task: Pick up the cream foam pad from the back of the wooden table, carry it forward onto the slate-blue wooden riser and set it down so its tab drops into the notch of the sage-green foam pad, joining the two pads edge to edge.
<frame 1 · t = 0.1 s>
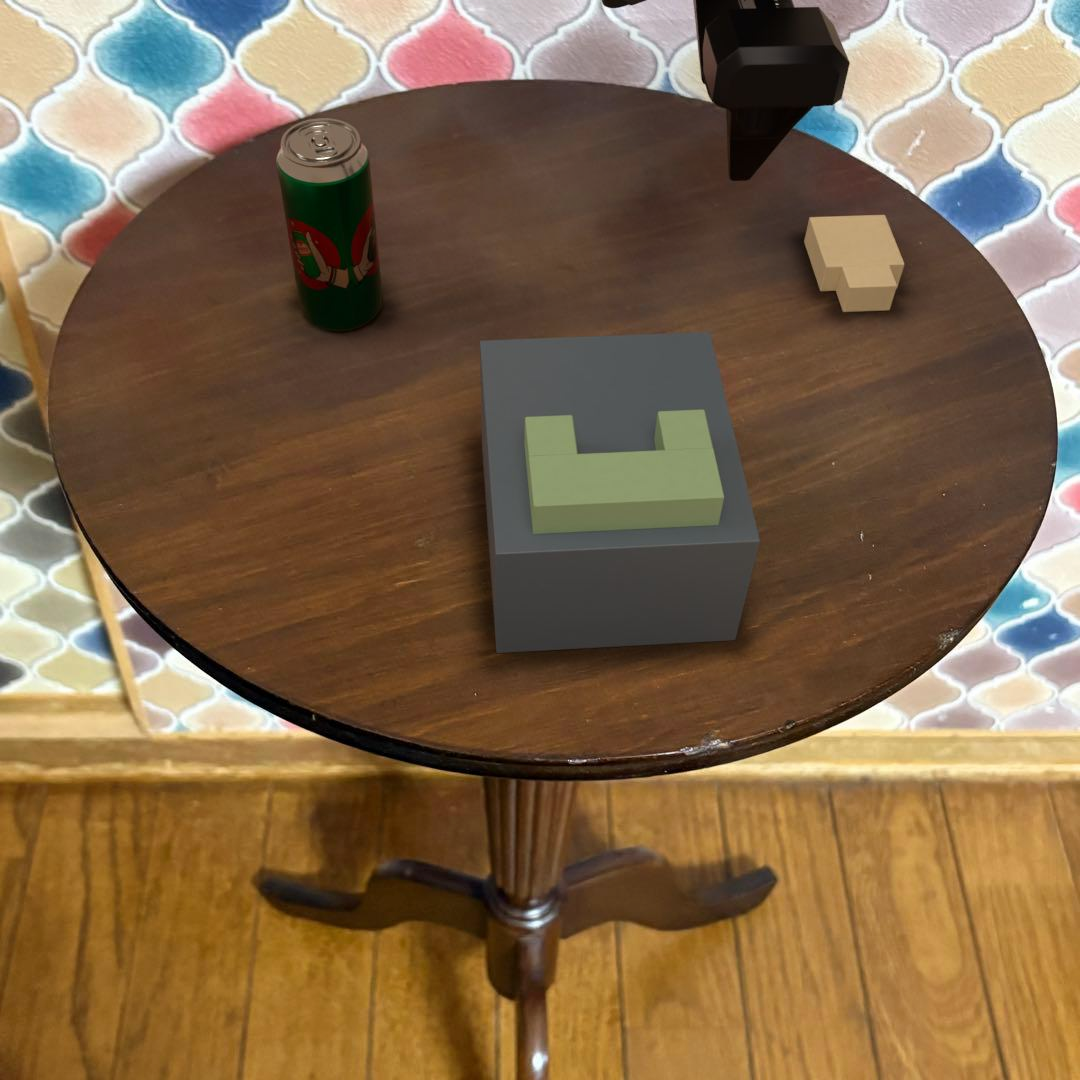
hand: (724, 129, 71), 12 cm above the table, tool pointing down, fingers open, 9 cm apart
green pad: (618, 480, 60), resting on riser
riser: (601, 537, 68), on the table
cream pad: (849, 265, 83), on the table
soda can: (342, 311, 79), on the table
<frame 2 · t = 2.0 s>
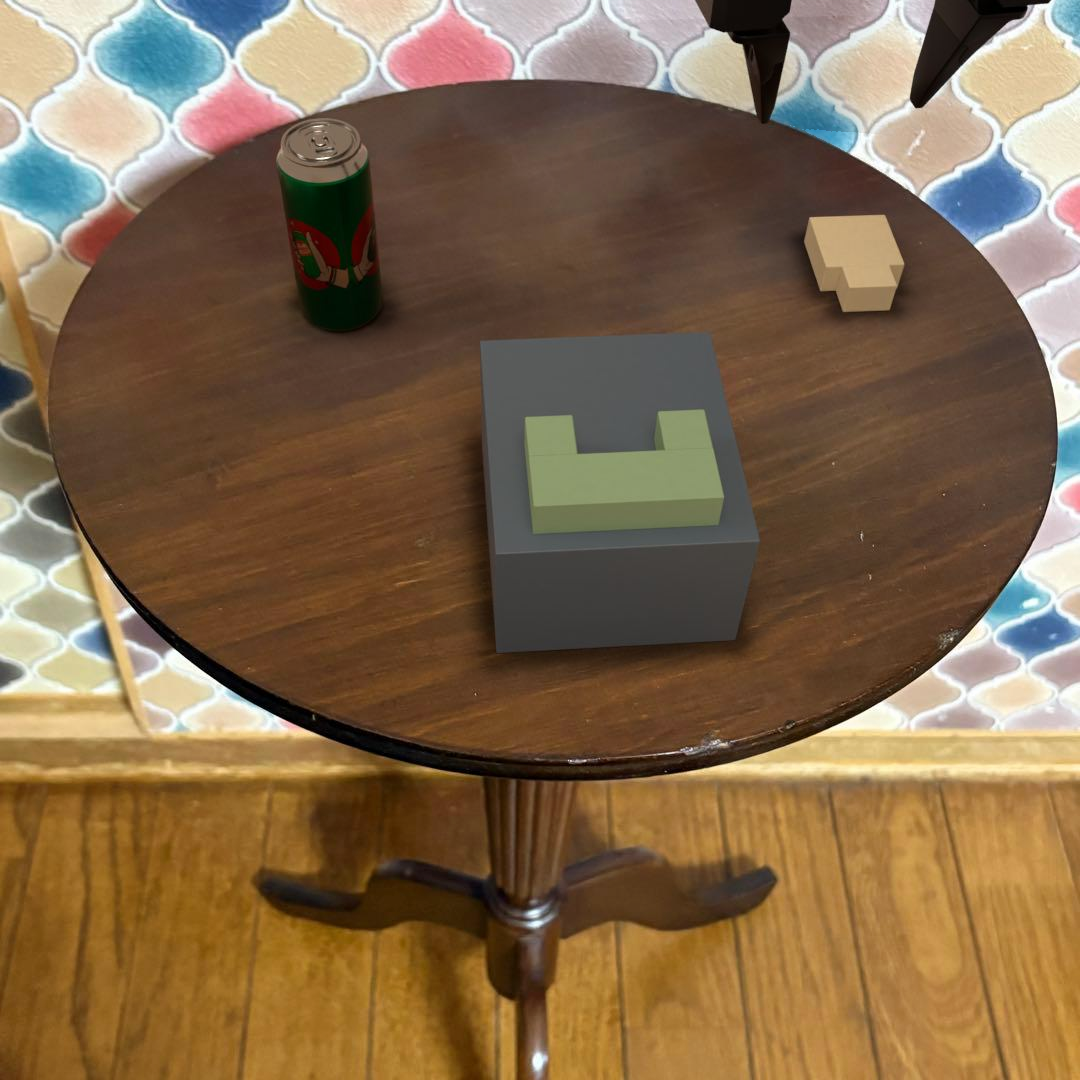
hand: (839, 112, 73), 12 cm above the table, tool pointing down, fingers open, 9 cm apart
nothing on the table moved.
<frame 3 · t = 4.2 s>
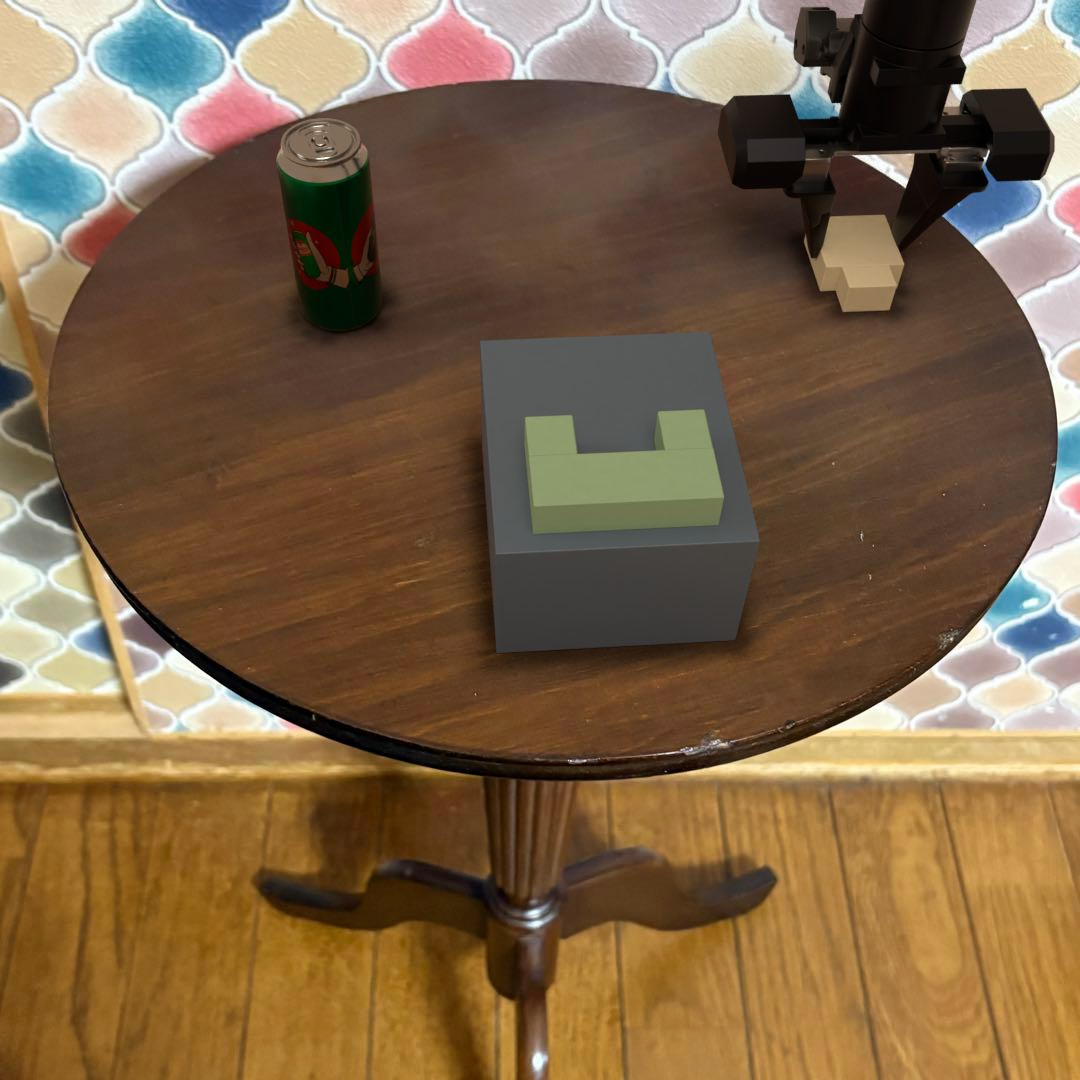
hand: (853, 252, 82), 1 cm above the table, tool pointing down, fingers closed on cream pad, 5 cm apart
cream pad: (849, 265, 83), on the table, touching gripper
everything else where it was.
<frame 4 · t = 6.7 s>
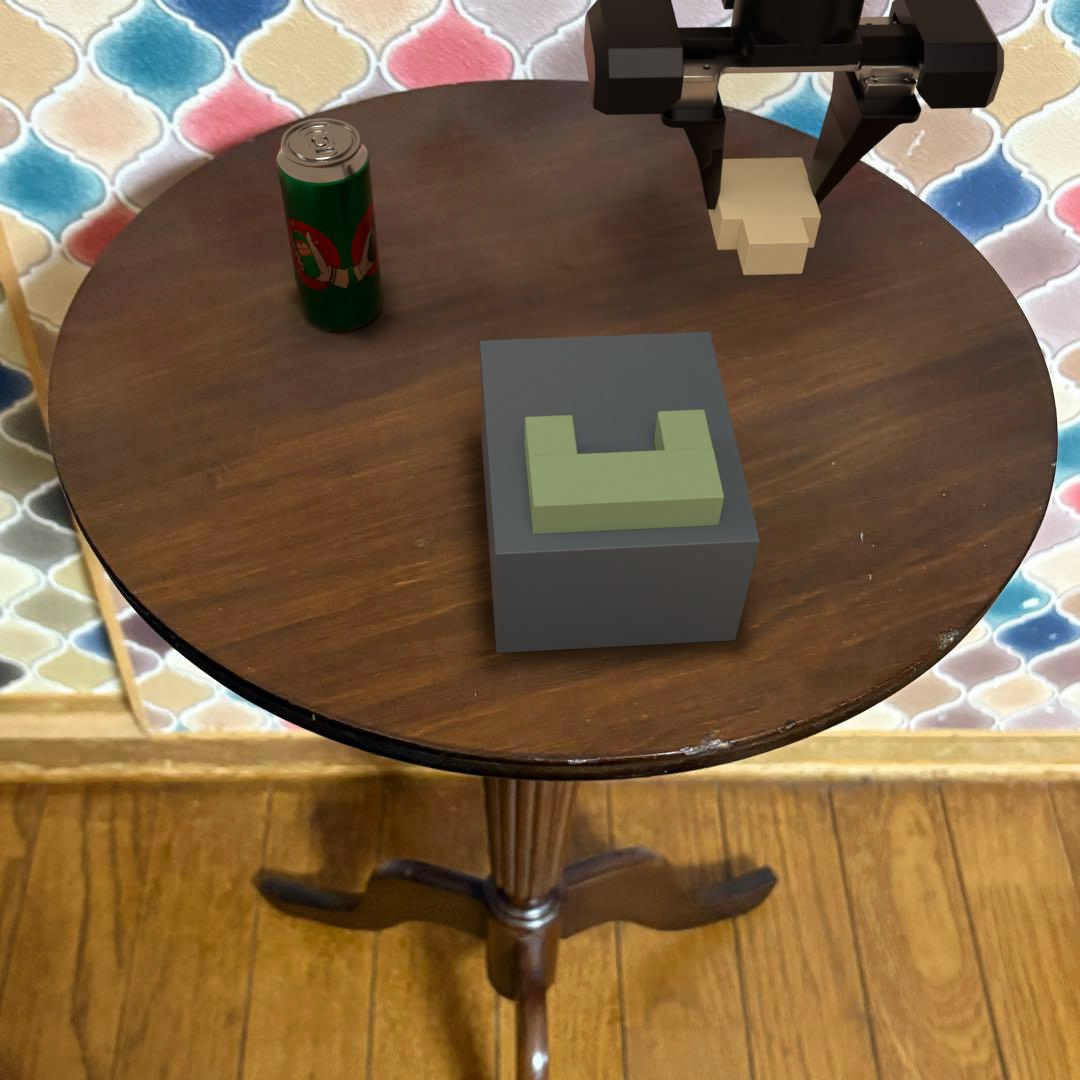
hand: (760, 203, 66), 12 cm above the table, tool pointing down, fingers closed on cream pad, 5 cm apart
cream pad: (757, 218, 67), point 11 cm above the table, touching gripper
everything else where it was.
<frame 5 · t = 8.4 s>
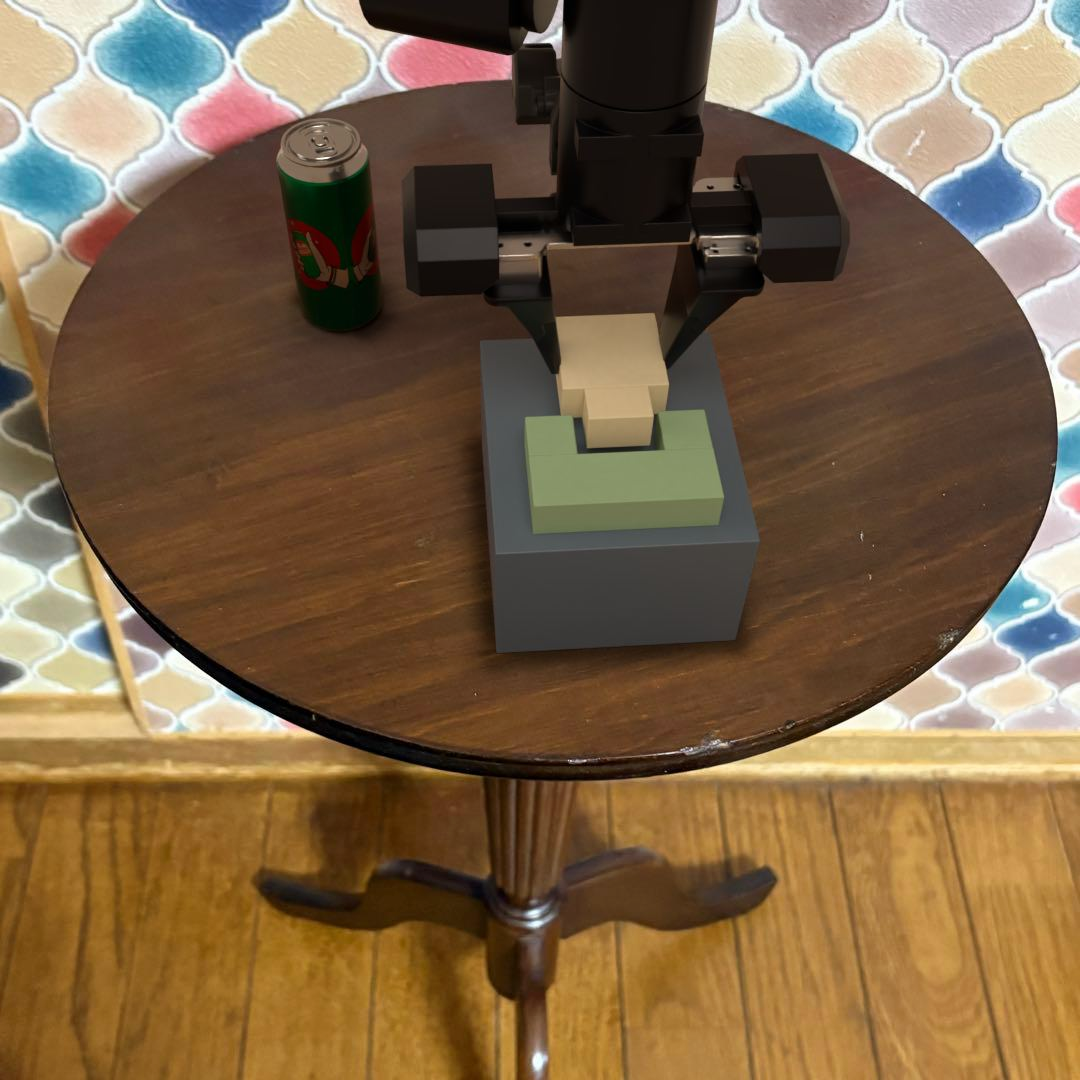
hand: (609, 365, 62), 10 cm above the table, tool pointing down, fingers closed on cream pad, 5 cm apart
cream pad: (607, 379, 63), point 9 cm above the table, touching gripper
everything else where it was.
when the fingers open (9 cm above the table, at t = 9.2 s): cream pad stays where it is, resting on riser.
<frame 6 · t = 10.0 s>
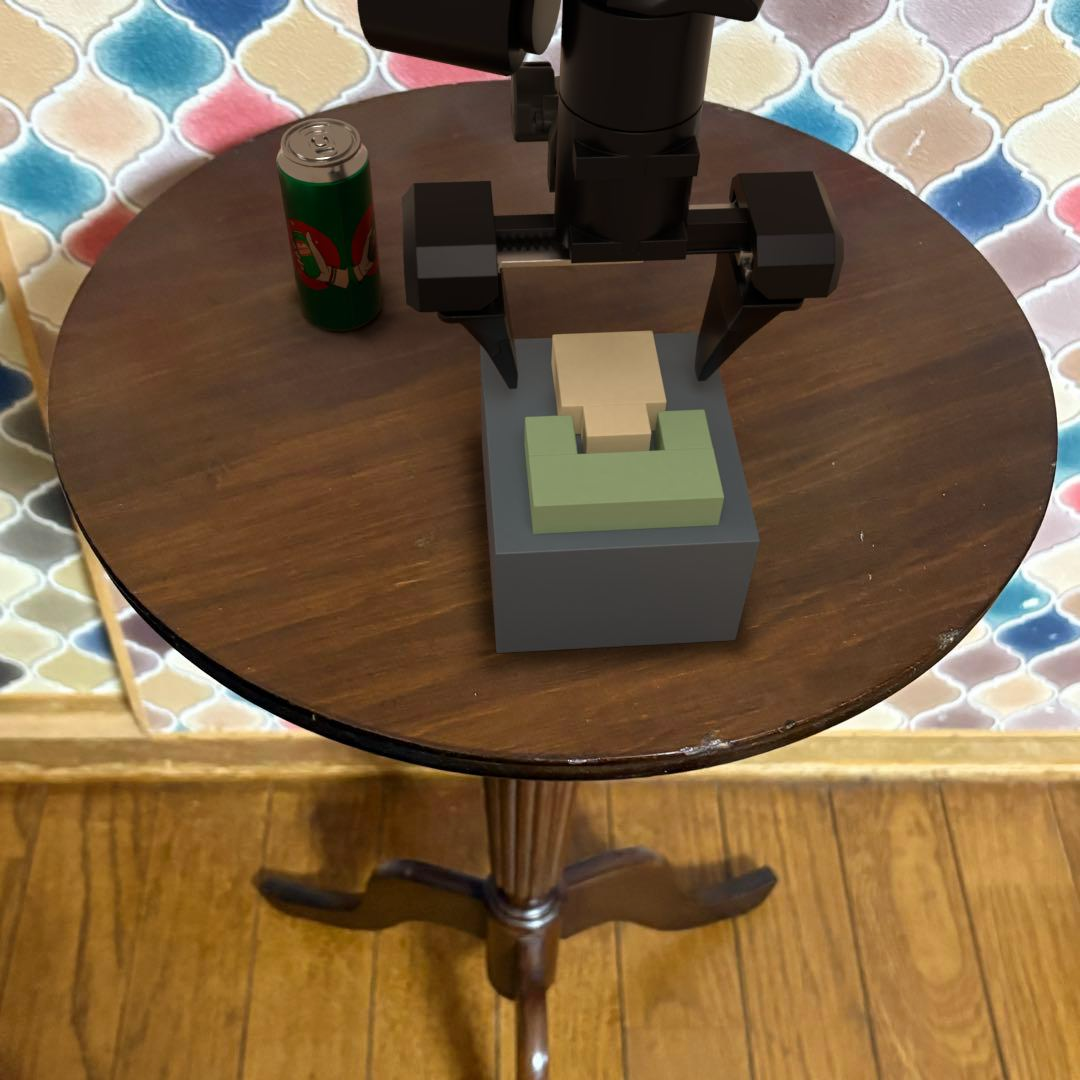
hand: (606, 378, 62), 9 cm above the table, tool pointing down, fingers open, 9 cm apart
cream pad: (605, 396, 63), point 8 cm above the table, touching riser
everything else where it was.
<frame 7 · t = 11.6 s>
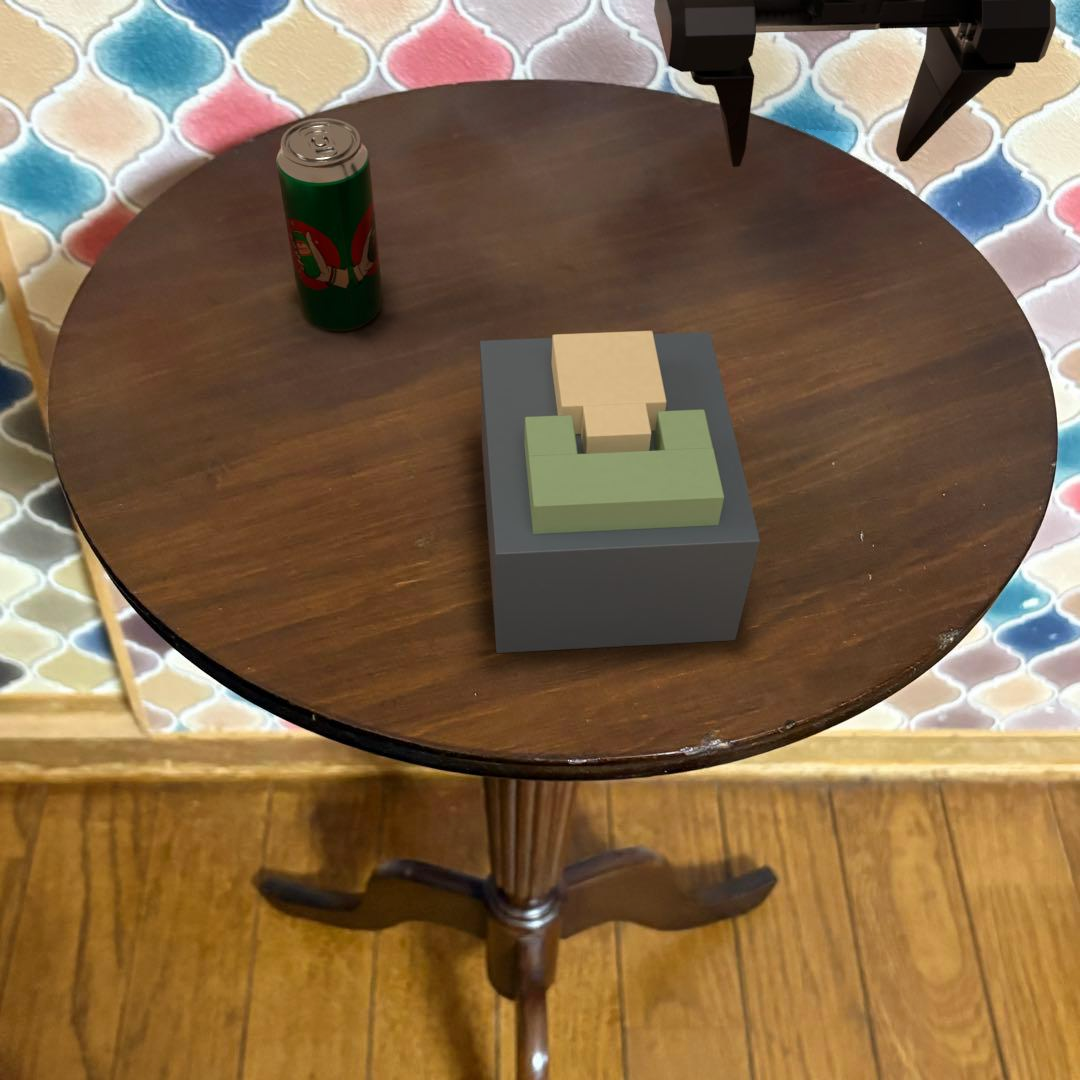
hand: (818, 159, 69), 12 cm above the table, tool pointing down, fingers open, 9 cm apart
nothing on the table moved.
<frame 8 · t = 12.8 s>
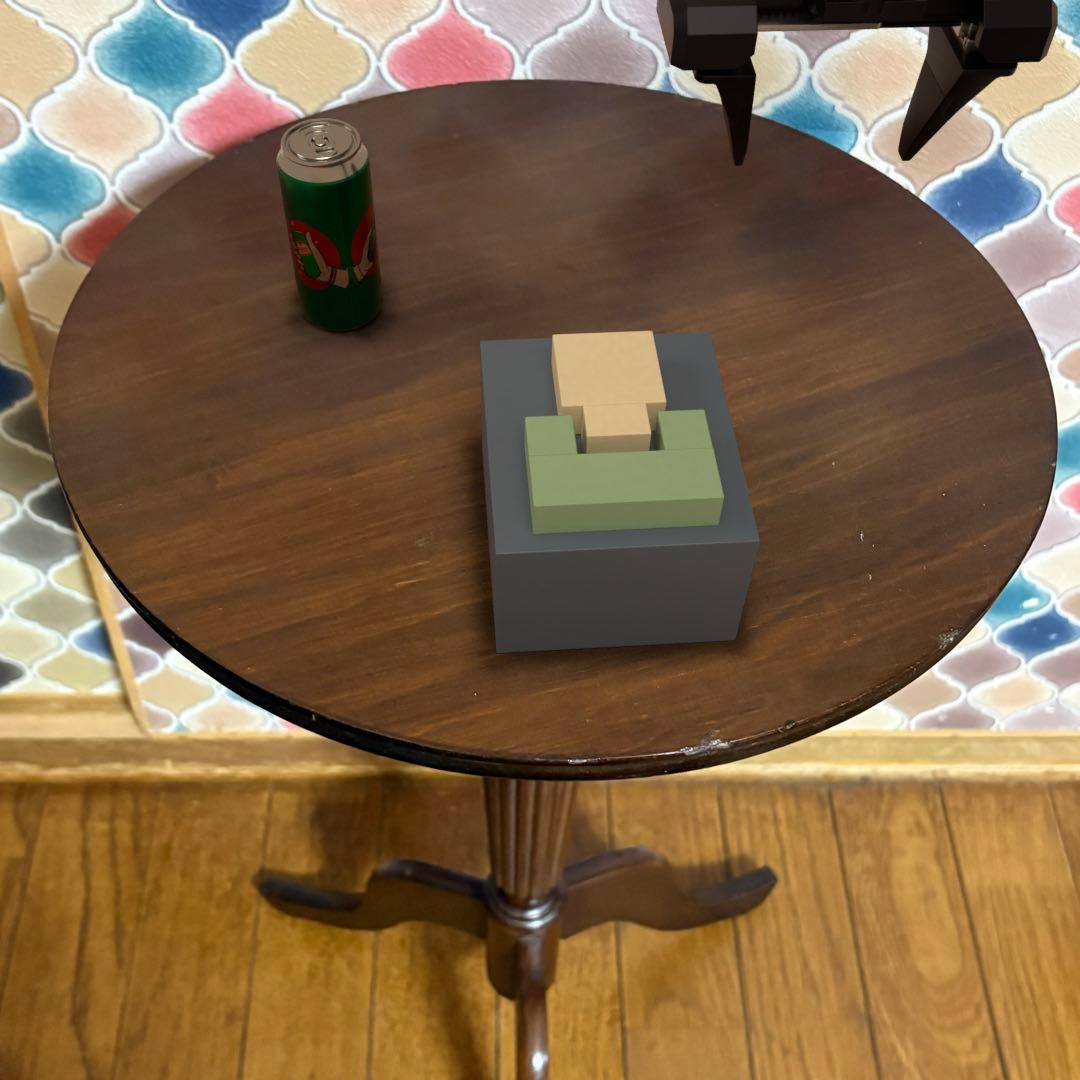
hand: (820, 158, 70), 12 cm above the table, tool pointing down, fingers open, 9 cm apart
nothing on the table moved.
at the end: cream pad 0.0 cm from the target spot on the table beside the green pad, resting on riser; cream pad tilted 0°; the gripper is holding nothing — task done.
